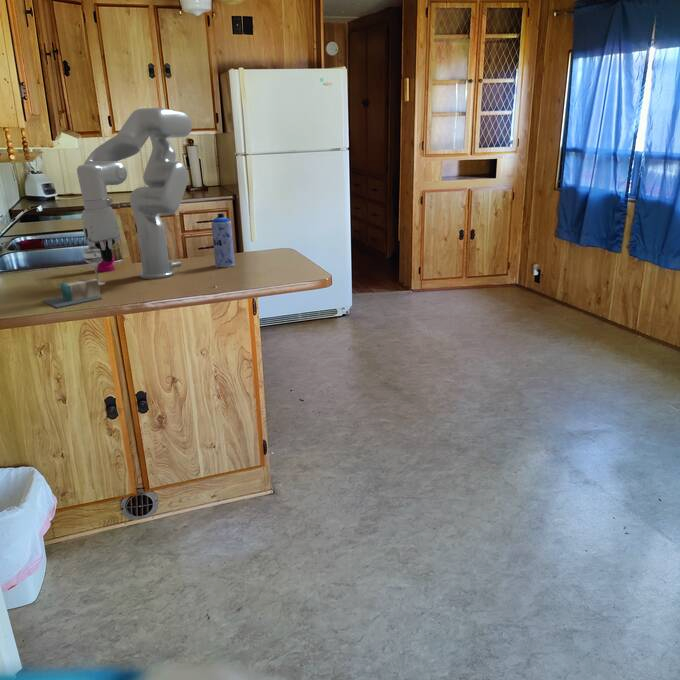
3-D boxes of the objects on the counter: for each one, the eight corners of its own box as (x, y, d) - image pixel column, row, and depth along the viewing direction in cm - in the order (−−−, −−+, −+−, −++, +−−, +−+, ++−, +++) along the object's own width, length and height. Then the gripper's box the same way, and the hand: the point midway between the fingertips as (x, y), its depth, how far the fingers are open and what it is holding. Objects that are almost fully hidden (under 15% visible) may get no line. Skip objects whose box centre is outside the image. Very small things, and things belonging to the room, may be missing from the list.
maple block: (91, 277, 198) (60, 283, 191) (97, 280, 194) (66, 286, 188) (93, 292, 199) (63, 299, 193) (100, 295, 196) (69, 301, 189)
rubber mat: (86, 292, 201) (86, 291, 201) (101, 298, 193) (101, 297, 193) (42, 301, 192) (42, 300, 192) (57, 308, 184) (56, 307, 184)
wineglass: (107, 284, 211) (102, 250, 207) (87, 286, 209) (81, 252, 206) (109, 280, 217) (103, 247, 213) (88, 282, 216) (83, 249, 212)
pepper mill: (118, 270, 234) (110, 218, 227) (98, 273, 230) (90, 220, 224) (113, 267, 240) (105, 216, 233) (94, 270, 236) (85, 218, 229)
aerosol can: (210, 266, 235) (205, 214, 229) (225, 262, 241) (220, 211, 235) (225, 268, 231) (220, 215, 224) (239, 264, 237) (235, 212, 230)
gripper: (113, 200, 199) (123, 254, 206) (68, 207, 190) (80, 264, 197) (124, 202, 194) (134, 257, 201) (78, 209, 185) (90, 268, 192)
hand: (108, 261), depth 199 cm, fingers closed
